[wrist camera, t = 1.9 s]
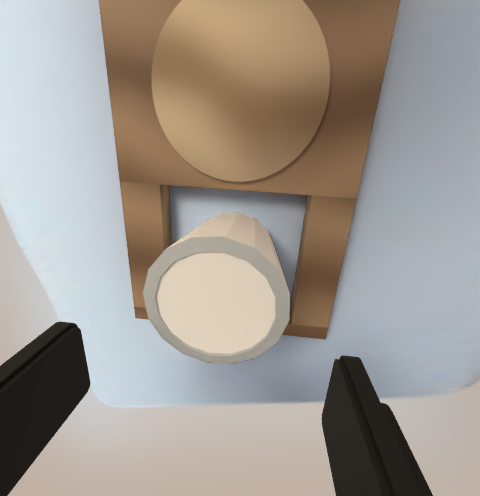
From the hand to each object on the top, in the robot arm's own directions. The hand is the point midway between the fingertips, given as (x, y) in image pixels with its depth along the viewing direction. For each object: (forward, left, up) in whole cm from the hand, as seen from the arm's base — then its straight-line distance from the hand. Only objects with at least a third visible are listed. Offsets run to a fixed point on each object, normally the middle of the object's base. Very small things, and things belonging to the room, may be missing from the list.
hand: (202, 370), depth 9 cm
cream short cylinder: (-1, 0, -10) cm, 10 cm away
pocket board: (-5, 0, -10) cm, 11 cm away
